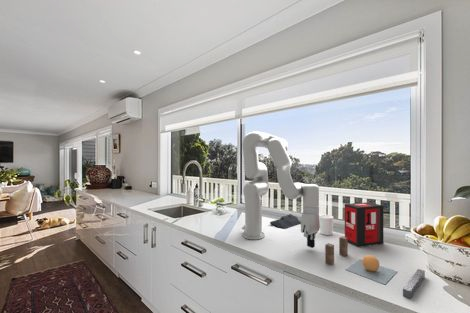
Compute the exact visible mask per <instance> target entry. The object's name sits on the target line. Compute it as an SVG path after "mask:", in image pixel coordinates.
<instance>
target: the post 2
mask: <svg viewBox="0 0 470 313" xmlns="http://www.w3.org/2000/svg"><path fill="white" fill-rule="evenodd" d="M338 240H339V241H338V242H339V245H338V246H339V247H338V248H339V255H340V256H341V257H347V256H348V255H349V254H348V253H349V252H348V248H349V246H348V244H349V243H348V238H347V237H345V236H340V237H339V238H338Z"/></svg>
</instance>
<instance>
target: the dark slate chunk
mask: <svg viewBox="0 0 470 313" xmlns="http://www.w3.org/2000/svg"><path fill="white" fill-rule="evenodd" d="M269 224H270V225H272V226H275V227H277V228H280V229H284V230H286V229H289V228H293V227H296V226H298V225H301V221H300V220H299V219H298V217H297V216H295V215H293V214H292V213H290V214H287V215H284V216H281V217H280V218H279V219H275V220H272V221H270V222H269Z"/></svg>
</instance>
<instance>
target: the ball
mask: <svg viewBox="0 0 470 313" xmlns="http://www.w3.org/2000/svg"><path fill="white" fill-rule="evenodd" d="M361 260H362V264H363V266H364V267H365V269H367V270H368V271H372V272H373V271H377V270H378V269H379V266H380V262H379V259H378V258H377V257H375V256H374V255H372V254H371V255H370V254H367V255H365V256H364V257H362V259H361Z"/></svg>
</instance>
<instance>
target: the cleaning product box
mask: <svg viewBox="0 0 470 313" xmlns="http://www.w3.org/2000/svg"><path fill="white" fill-rule="evenodd" d="M344 237H347V238H348V244H350V245H353V246H354V247H357V248H362V246H363V247H370V246H374V245H375V246H376V244H377V245H383V244H384V205H381V204H377V203H374V202H371V201H369V202H355V203H353V202H352V203H344ZM369 245H370V246H369Z"/></svg>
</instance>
